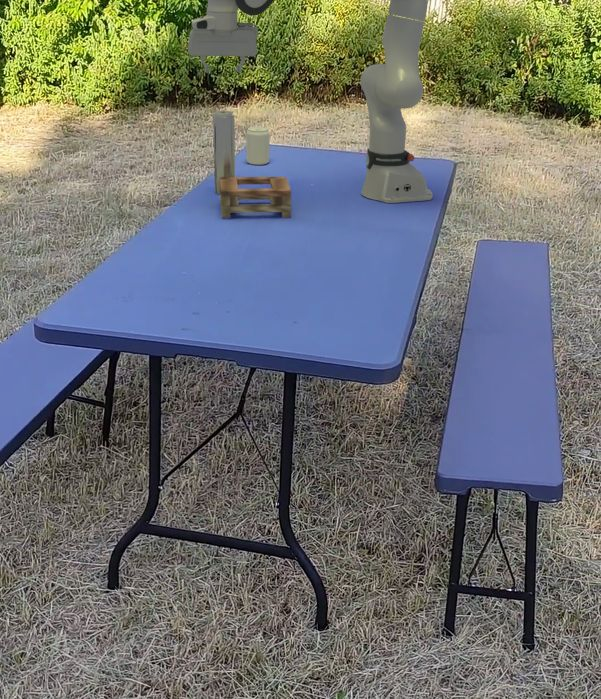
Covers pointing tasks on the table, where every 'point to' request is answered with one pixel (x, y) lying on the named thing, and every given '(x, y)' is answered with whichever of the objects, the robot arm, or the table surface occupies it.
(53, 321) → the table surface
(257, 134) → the beverage can
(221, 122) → the silver metal cylinder
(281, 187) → the frame
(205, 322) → the table surface
